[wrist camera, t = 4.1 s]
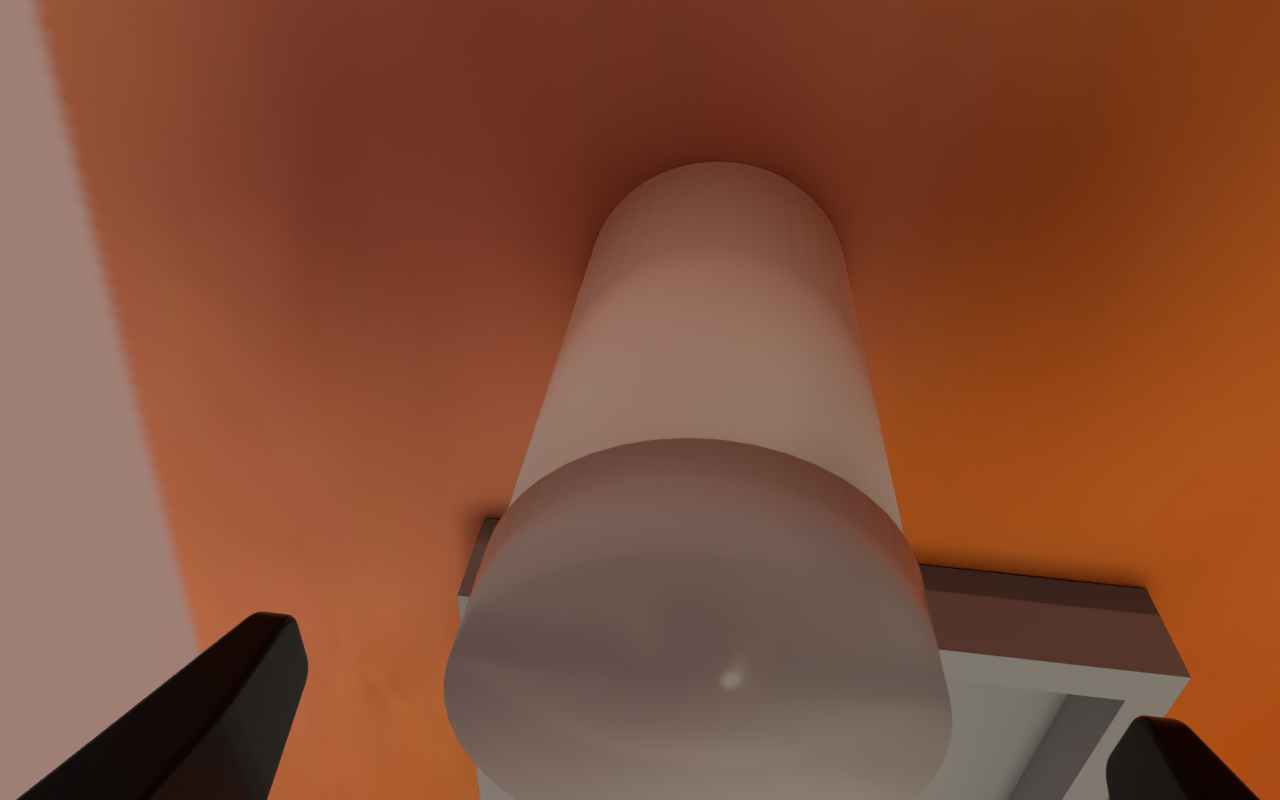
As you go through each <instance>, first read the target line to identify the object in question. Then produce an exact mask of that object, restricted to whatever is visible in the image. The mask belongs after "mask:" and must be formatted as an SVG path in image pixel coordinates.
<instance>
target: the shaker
mask: <svg viewBox="0 0 1280 800" xmlns="http://www.w3.org/2000/svg"><path fill="white" fill-rule="evenodd" d="M444 700H445V705H446V709H447V714H448V718H449V721H450V723H451V726H452V728H453V730H454V732H455V734H456V737H457V739H458V740H459V742H460V743H461V745H462V747H463V748H464V750H465V751H466V753H467V754H468V756H469V757H470V758H471V759H472V760H473V761H474V763H475V764H476V765H477V766H478V767H479V768H480V769H481V771H482V772H483V773H484V774H485V775H486V776H488V777H489V778H490V779H491V780H492V781H493V782H494V783H495V784H497V785H498V786H499V787H500V788H501V789H502V790H504V791H505V792H507V793H508V794H509V795H511V796H512V797H514V798H515V799H516V800H914V799H915V798H916V797H917V796H918V795H919V794H920V793H921V792H922V791H923V790H924V789H925V788H926V786H927V785H928V784H929V783H930V782H931V781H932V779H933V778H934V777H935V775H936V773H937V771H938V770H939V768H940V766H941V765H942V763H943V761H944V759H945V756H946V753H947V750H948V747H949V744H950V741H951V732H952V722H953V720H952V711H951V703H950V697H949V693H948V688H947V684H946V680H945V675H944V671H943V666H942V662H941V658H940V653H939V649H938V644H937V640H936V635H935V631H934V627H933V622H932V618H931V613H930V609H929V604H928V600H927V596H926V591H925V587H924V582H923V578H922V574H921V571H920V568H919V565H918V562H917V559H916V556H915V554H914V552H913V550H912V548H911V547H910V545H909V543H908V541H907V539H906V538H905V536H904V534H903V529H902V525H901V520H900V515H899V511H898V506H897V501H896V497H895V492H894V487H893V483H892V478H891V473H890V469H889V464H888V459H887V455H886V450H885V445H884V441H883V436H882V431H881V427H880V422H879V417H878V413H877V408H876V403H875V399H874V394H873V389H872V385H871V380H870V375H869V371H868V366H867V361H866V357H865V352H864V347H863V343H862V338H861V333H860V328H859V324H858V319H857V314H856V310H855V305H854V300H853V296H852V291H851V286H850V282H849V277H848V272H847V268H846V263H845V258H844V254H843V250H842V247H841V244H840V241H839V237H838V235H837V233H836V231H835V229H834V227H833V225H832V223H831V221H830V220H829V218H828V217H827V216H826V214H825V213H824V211H823V210H822V209H821V207H820V206H819V205H818V204H817V203H816V202H815V201H814V200H813V199H812V198H811V197H810V196H809V195H808V194H807V193H805V192H804V191H803V190H802V189H800V188H799V187H798V186H797V185H795V184H793V183H792V182H790V181H788V180H787V179H785V178H783V177H782V176H779V175H777V174H775V173H772V172H770V171H768V170H765V169H762V168H758V167H755V166H751V165H748V164H741V163H734V162H714V161H711V162H702V163H693V164H689V165H685V166H681V167H676V168H674V169H671V170H668V171H666V172H663V173H661V174H658V175H657V176H655V177H653V178H651V179H649V180H647V181H645V182H644V183H642V184H641V185H640V186H638V187H637V188H635V189H634V190H633V191H631V192H630V193H629V194H628V195H627V196H626V197H625V198H624V199H623V200H622V201H621V202H620V203H619V204H618V205H617V206H616V207H615V209H614V210H613V211H612V212H611V214H610V215H609V216H608V218H607V220H606V221H605V223H604V225H603V226H602V228H601V230H600V232H599V235H598V237H597V240H596V242H595V245H594V248H593V251H592V254H591V257H590V260H589V263H588V266H587V269H586V272H585V275H584V278H583V282H582V285H581V288H580V291H579V294H578V297H577V300H576V303H575V306H574V309H573V312H572V315H571V318H570V321H569V324H568V327H567V330H566V334H565V337H564V340H563V343H562V346H561V349H560V352H559V355H558V358H557V361H556V364H555V367H554V370H553V373H552V376H551V379H550V382H549V386H548V389H547V392H546V395H545V398H544V401H543V404H542V407H541V410H540V413H539V416H538V419H537V422H536V425H535V428H534V431H533V434H532V438H531V441H530V444H529V447H528V450H527V453H526V456H525V459H524V462H523V465H522V468H521V471H520V474H519V477H518V480H517V483H516V486H515V490H514V493H513V496H512V499H511V502H510V505H509V508H508V509H507V510H506V512H505V513H504V515H503V516H502V518H501V519H500V521H499V522H498V524H497V525H496V527H495V528H494V531H493V533H492V535H491V538H490V540H489V543H488V545H487V547H486V550H485V553H484V556H483V559H482V562H481V565H480V568H479V571H478V574H477V577H476V580H475V583H474V586H473V589H472V592H471V594H470V597H469V600H468V603H467V606H466V609H465V612H464V615H463V618H462V621H461V624H460V627H459V630H458V633H457V636H456V639H455V642H454V645H453V648H452V651H451V654H450V656H449V659H448V663H447V668H446V673H445V679H444Z"/></svg>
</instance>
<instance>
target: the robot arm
mask: <svg viewBox="0 0 1280 800" xmlns="http://www.w3.org/2000/svg"><path fill="white" fill-rule="evenodd" d="M307 675H308V659H307V655H306V652H305V649H304V645H303V642H302V638H301V635H300V631H299V628H298V624H297V622H296V620H295V619H294V618H293V617H292V616H291V615H287V614H279V613H271V612H257V613H254V614H252V615H250V616H249V617H247V618H246V619H245V620H243V621H242V622H241V623H240V624H238V625H237V626H236V627H234V628H233V629H232V630H231V631H229V632H228V633H227V634H226V635H224V636H223V637H222V638H220V639H219V640H218V641H217V642H215V643H214V644H213V645H212V646H210V647H209V648H208V649H207V650H205V651H204V652H203V653H201V654H200V655H199V656H198V657H196V658H195V659H194V660H193V661H191V662H190V663H189V664H188V665H186V666H185V667H184V668H183V669H181V670H180V671H179V672H177V673H176V674H175V675H174V676H172V677H171V678H170V679H169V680H167V681H166V682H165V683H163V684H162V685H161V686H160V687H158V688H157V689H156V690H155V691H153V692H152V693H151V694H150V695H148V696H147V697H146V698H144V699H143V700H142V701H141V702H139V703H138V704H137V705H136V706H134V707H133V708H132V709H131V710H129V711H128V712H127V713H125V714H124V715H123V716H122V717H120V718H119V719H118V720H117V721H115V722H114V723H113V724H111V725H110V726H109V727H108V728H106V729H105V730H104V731H103V732H101V733H100V734H99V735H98V736H96V737H95V738H94V739H93V740H91V741H90V742H89V743H87V744H86V745H85V746H84V747H82V748H81V749H80V750H79V751H77V752H76V753H75V754H73V755H72V756H71V757H70V758H68V759H67V760H66V761H65V762H63V763H62V764H61V765H60V766H58V767H57V768H56V769H54V770H53V771H52V772H51V773H49V774H48V775H47V776H46V777H44V778H43V779H42V780H40V781H39V782H38V783H37V784H35V785H34V786H33V787H32V788H30V789H29V790H28V791H27V792H25V793H24V794H23V795H21V796H20V797H19V798H18V799H17V800H267V798H268V795H269V793H270V790H271V786H272V783H273V780H274V777H275V774H276V771H277V768H278V765H279V762H280V759H281V756H282V753H283V750H284V747H285V744H286V741H287V738H288V735H289V732H290V729H291V726H292V723H293V720H294V717H295V714H296V711H297V708H298V705H299V702H300V699H301V696H302V693H303V690H304V687H305V683H306V680H307ZM1106 783H1107V789H1108V794H1109V800H1260V799H1259V798H1258V797H1257V796H1256V795H1255V794H1254V793H1253V792H1252V791H1251V790H1250V789H1249V788H1248V787H1247V786H1246V785H1245V784H1244V783H1243V782H1242V781H1241V780H1240V779H1239V778H1238V777H1237V776H1236V775H1235V774H1234V773H1233V772H1232V770H1231V769H1230V768H1229V767H1228V766H1227V765H1226V764H1225V763H1224V762H1223V761H1222V760H1221V759H1220V758H1219V757H1218V756H1217V755H1216V754H1215V753H1214V752H1213V751H1212V750H1211V749H1210V748H1209V747H1208V746H1207V745H1206V744H1205V743H1204V742H1203V741H1202V740H1201V739H1200V738H1199V737H1198V736H1197V735H1196V734H1195V733H1194V732H1193V731H1192V730H1191V729H1190V728H1189V727H1188V726H1187V725H1185V724H1184V723H1183V722H1181V721H1179V720H1175V719H1171V718H1163V717H1154V716H1145V715H1143V716H1139V717H1137V718H1135V719H1134V720H1133V721H1132V722H1131V724H1130V725H1129V727H1128V728H1127V730H1126V731H1125V733H1124V734H1123V736H1122V737H1121V739H1120V740H1119V742H1118V743H1117V745H1116V746H1115V748H1114V749H1113V751H1112V752H1111V754H1110V755H1109V757H1108V760H1107V764H1106Z"/></svg>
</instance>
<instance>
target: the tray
mask: <svg viewBox="0 0 1280 800" xmlns="http://www.w3.org/2000/svg"><path fill="white" fill-rule="evenodd" d="M499 521H500V520H497V519H488V518H485V519H484V522H483V525H482V528H481V531H480V534H479V536H478V539H477V542H476V545H475V548H474V550H473V553H472V556H471V559H470V562H469V565H468V567H467V570H466V573H465V576H464V579H463V581H462V584H461V587H460V590H459V593H458V605H459V614H460V623H461V621H462V618H463V615H464V612H465V609H466V606H467V603H468V600H469V597H470V594H471V592H472V589H473V586H474V583H475V580H476V577H477V574H478V571H479V568H480V565H481V562H482V559H483V556H484V553H485V550H486V547H487V545H488V543H489V540H490V538H491V535H492V533H493V531H494V528H495V527H496V525H497V524H498V522H499ZM919 568H920V571H921V574H922V578H923V582H924V587H925V591H926V596H927V600H928V604H929V609H930V613H931V618H932V622H933V627H934V631H935V635H936V640H937V644H938V649H939V653H940V658H941V662H942V666H943V671H944V675H945V680H946V684H947V688H948V693H949V697H950V703H951V711H952V720H953V722H952V732H951V741H950V744H949V747H948V750H947V753H946V756H945V759H944V761H943V763H942V765H941V766H940V768H939V770H938V771H937V773H936V775H935V777H934V778H933V779H932V781H931V782H930V783H929V784H928V785H927V786H926V788H925V789H924V790H923V791H922V792H921V793H920V794H919V795H918V796H917V797H916V798H915V799H914V800H1107V798H1108V797H1109V794H1108V789H1107V783H1106V764H1107V760H1108V757H1109V755H1110V754H1111V752H1112V751H1113V749H1114V748H1115V746H1116V745H1117V743H1118V742H1119V740H1120V739H1121V737H1122V736H1123V734H1124V733H1125V731H1126V730H1127V728H1128V727H1129V725H1130V724H1131V722H1132V721H1133V720H1134V719H1135V718H1137V717H1139V716H1143V715H1145V716H1154V717H1163V718H1164V716H1165V715H1166V713H1167V712H1168V710H1169V709H1170V708H1171V706H1172V705H1173V703H1174V702H1175V700H1176V699H1177V697H1178V696H1179V695H1180V693H1181V692H1182V690H1183V689H1184V687H1185V686H1186V685H1187V683H1188V682H1189V680H1190V679H1191V677H1190V675H1189V673H1188V671H1187V669H1186V667H1185V665H1184V663H1183V661H1182V659H1181V657H1180V655H1179V653H1178V651H1177V649H1176V647H1175V645H1174V643H1173V641H1172V639H1171V637H1170V635H1169V633H1168V631H1167V629H1166V627H1165V625H1164V623H1163V621H1162V619H1161V617H1160V615H1159V613H1158V611H1157V609H1156V607H1155V605H1154V603H1153V601H1152V599H1151V597H1150V595H1149V593H1148V591H1147V589H1139V588H1130V587H1120V586H1111V585H1102V584H1092V583H1083V582H1074V581H1064V580H1055V579H1046V578H1037V577H1027V576H1018V575H1009V574H999V573H990V572H981V571H971V570H962V569H953V568H944V567H934V566H925V565H919ZM476 767H477V776H478V785H479V794H480V800H516V799H515V798H514V797H512V796H511V795H509V794H508V793H507V792H505V791H504V790H502V789H501V788H500V787H499V786H498V785H497V784H495V783H494V782H493V781H492V780H491V779H490V778H489V777H488V776H486V775H485V774H484V773H483V772H482V771H481V769H480V768H479V767H478V766H477V765H476Z"/></svg>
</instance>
